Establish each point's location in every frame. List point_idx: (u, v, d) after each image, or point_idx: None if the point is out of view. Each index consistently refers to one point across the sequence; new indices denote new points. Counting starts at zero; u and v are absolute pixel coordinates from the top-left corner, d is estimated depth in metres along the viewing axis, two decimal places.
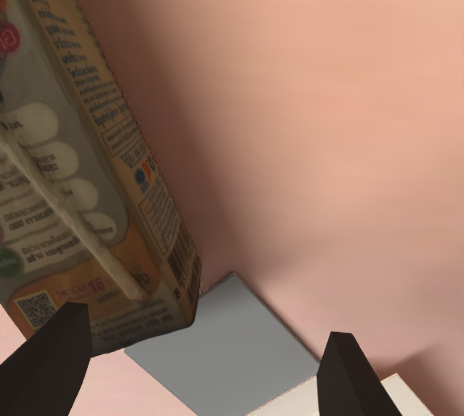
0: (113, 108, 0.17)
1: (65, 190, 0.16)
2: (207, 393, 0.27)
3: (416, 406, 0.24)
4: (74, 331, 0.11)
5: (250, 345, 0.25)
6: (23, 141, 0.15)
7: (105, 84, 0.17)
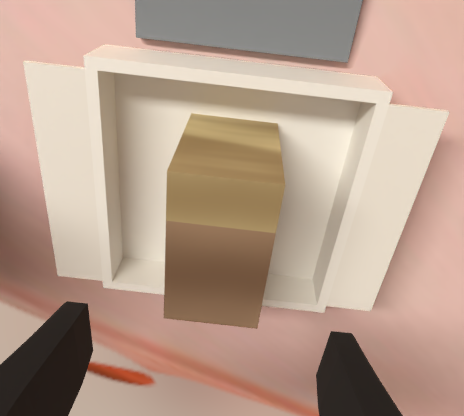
0: None
1: None
2: None
3: (415, 173, 0.17)
4: (74, 331, 0.11)
5: None
6: None
7: None
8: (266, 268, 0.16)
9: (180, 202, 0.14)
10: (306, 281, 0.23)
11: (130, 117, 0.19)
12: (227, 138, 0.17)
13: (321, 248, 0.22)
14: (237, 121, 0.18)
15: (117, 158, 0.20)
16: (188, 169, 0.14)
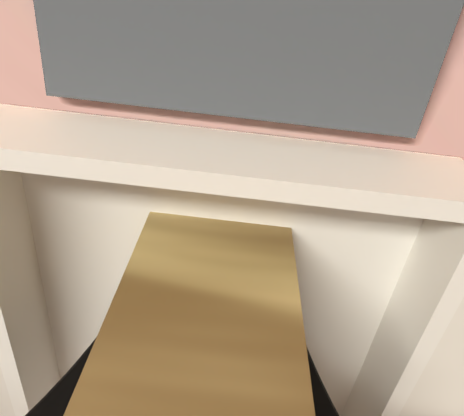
0: None
1: None
2: None
3: None
4: None
5: None
6: None
7: None
8: None
9: None
10: None
11: (51, 216, 0.12)
12: (204, 280, 0.09)
13: (353, 390, 0.15)
14: (225, 227, 0.11)
15: (38, 272, 0.13)
16: (112, 403, 0.07)
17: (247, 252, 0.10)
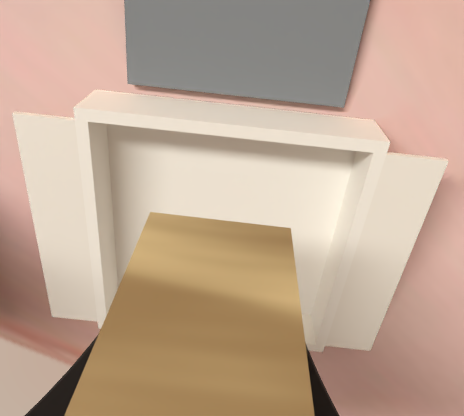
0: None
1: None
2: (173, 6, 0.15)
3: (414, 219, 0.17)
4: None
5: None
6: None
7: None
8: None
9: None
10: (304, 318, 0.23)
11: (123, 160, 0.19)
12: (204, 280, 0.09)
13: (319, 286, 0.22)
14: (225, 227, 0.11)
15: (111, 200, 0.20)
16: (113, 401, 0.07)
17: (247, 252, 0.10)
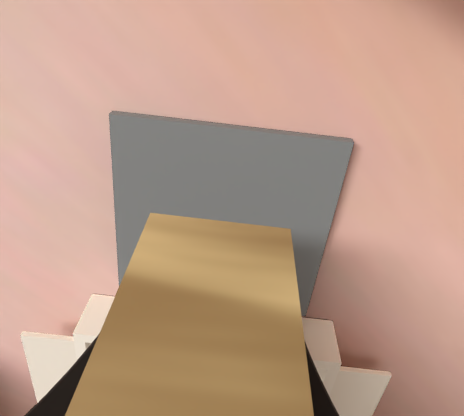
0: None
1: None
2: None
3: (366, 410, 0.20)
4: None
5: None
6: None
7: None
8: None
9: None
10: None
11: None
12: (204, 281, 0.09)
13: None
14: (224, 228, 0.11)
15: None
16: (113, 403, 0.07)
17: (247, 253, 0.10)
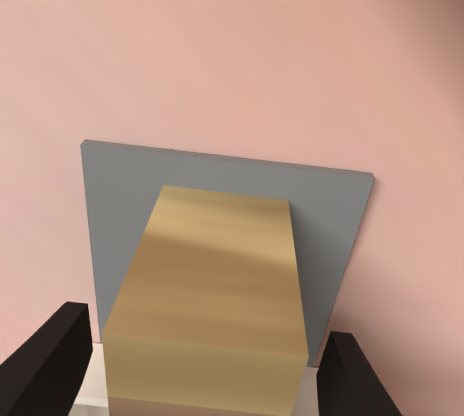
0: None
1: None
2: None
3: None
4: (74, 331, 0.11)
5: None
6: None
7: None
8: None
9: (130, 374, 0.08)
10: None
11: None
12: (213, 239, 0.11)
13: None
14: (229, 198, 0.13)
15: None
16: (140, 325, 0.08)
17: (249, 218, 0.12)
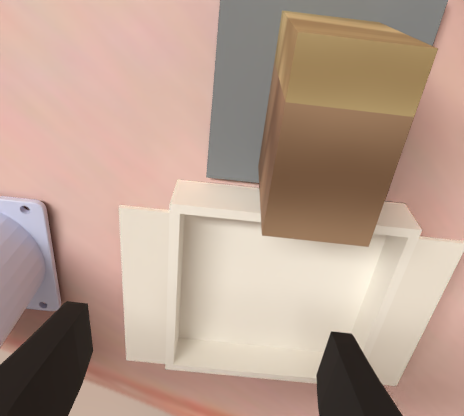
0: None
1: None
2: (249, 123, 0.19)
3: (438, 285, 0.21)
4: (74, 331, 0.11)
5: None
6: None
7: None
8: (394, 165, 0.13)
9: (307, 76, 0.12)
10: None
11: (195, 233, 0.22)
12: (338, 23, 0.14)
13: (352, 331, 0.26)
14: (335, 17, 0.16)
15: (182, 264, 0.23)
16: (319, 33, 0.12)
17: (357, 22, 0.15)
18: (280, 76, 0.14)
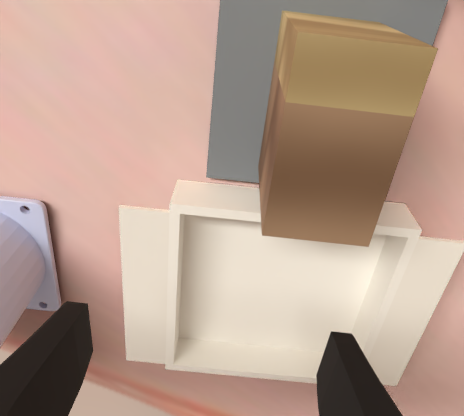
0: None
1: None
2: (249, 123, 0.19)
3: (438, 285, 0.21)
4: (74, 331, 0.11)
5: None
6: None
7: None
8: (394, 165, 0.13)
9: (307, 76, 0.12)
10: None
11: (195, 233, 0.22)
12: (338, 23, 0.14)
13: (352, 331, 0.26)
14: (335, 17, 0.16)
15: (182, 264, 0.23)
16: (319, 33, 0.12)
17: (357, 22, 0.15)
18: (280, 76, 0.14)
